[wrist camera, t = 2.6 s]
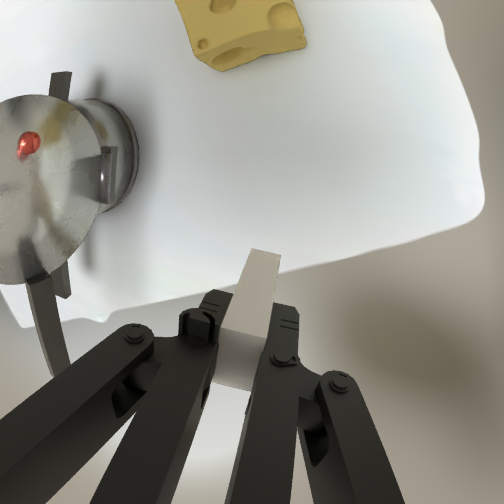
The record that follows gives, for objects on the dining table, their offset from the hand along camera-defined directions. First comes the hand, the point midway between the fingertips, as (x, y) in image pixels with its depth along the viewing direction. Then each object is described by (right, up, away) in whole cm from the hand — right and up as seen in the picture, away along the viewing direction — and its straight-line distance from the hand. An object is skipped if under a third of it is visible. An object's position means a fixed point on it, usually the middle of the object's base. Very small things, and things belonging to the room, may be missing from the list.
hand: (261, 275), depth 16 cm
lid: (-21, +1, +8) cm, 23 cm away
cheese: (-1, +27, +13) cm, 30 cm away
